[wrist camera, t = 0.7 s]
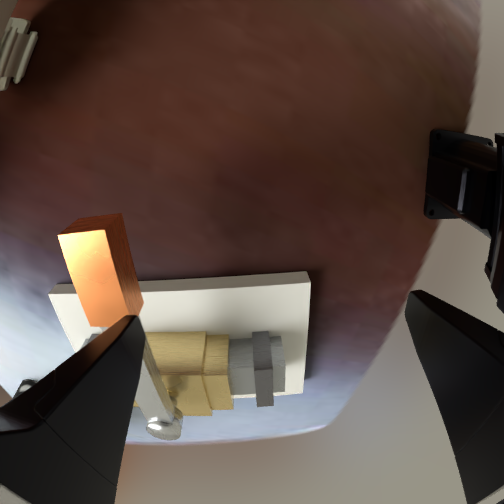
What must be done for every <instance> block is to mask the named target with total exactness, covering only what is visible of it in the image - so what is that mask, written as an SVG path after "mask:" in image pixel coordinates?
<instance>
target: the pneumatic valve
mask: <svg viewBox="0 0 504 504" xmlns="http://www.w3.org/2000/svg"><path fill="white" fill-rule="evenodd" d="M17 2H18V0H0V91H4V90H6V89H7V88H8V86H9V83H10V79H11V77H14V79H13V81H14V83H16V84H18V82H20V80H21V78H22V77H24V75H25V72H26V69H27V66H28V63H29V60H30V57H31V55H32V52H33V49H34V47H35V44H36V42H37V39H38V37H37V34H38V32H33V31H31V32H30V34H29V35H27V32H28V29H29V27H30V25H31V21H29V20H26V19H20V18H10V17H11V15H12V12H13V10H14V8H15V6H16V4H17Z"/></svg>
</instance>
